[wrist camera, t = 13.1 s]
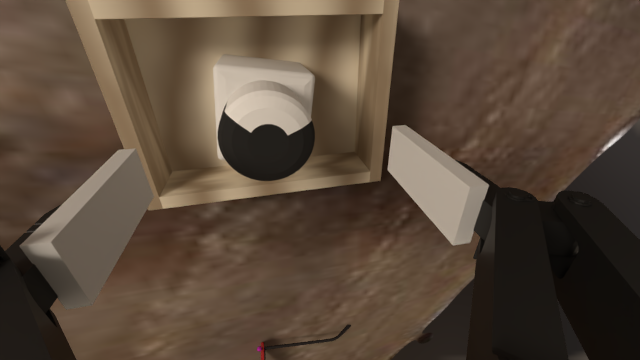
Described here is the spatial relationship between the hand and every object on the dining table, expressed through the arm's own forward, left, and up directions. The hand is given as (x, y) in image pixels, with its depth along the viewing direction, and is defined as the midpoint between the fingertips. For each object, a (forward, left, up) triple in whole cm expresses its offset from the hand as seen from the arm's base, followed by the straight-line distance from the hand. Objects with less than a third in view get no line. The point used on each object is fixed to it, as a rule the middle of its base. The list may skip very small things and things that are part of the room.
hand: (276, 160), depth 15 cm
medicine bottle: (0, 0, -15) cm, 15 cm away
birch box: (0, 0, -16) cm, 16 cm away
